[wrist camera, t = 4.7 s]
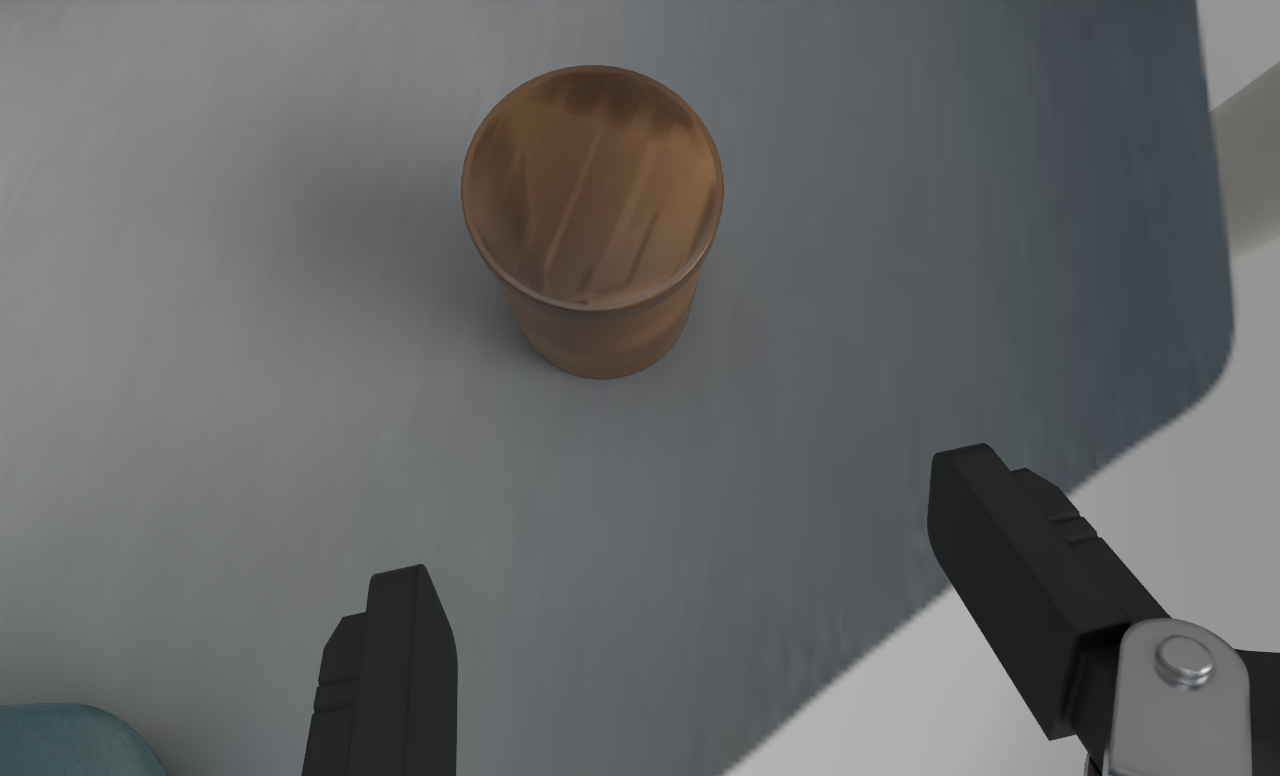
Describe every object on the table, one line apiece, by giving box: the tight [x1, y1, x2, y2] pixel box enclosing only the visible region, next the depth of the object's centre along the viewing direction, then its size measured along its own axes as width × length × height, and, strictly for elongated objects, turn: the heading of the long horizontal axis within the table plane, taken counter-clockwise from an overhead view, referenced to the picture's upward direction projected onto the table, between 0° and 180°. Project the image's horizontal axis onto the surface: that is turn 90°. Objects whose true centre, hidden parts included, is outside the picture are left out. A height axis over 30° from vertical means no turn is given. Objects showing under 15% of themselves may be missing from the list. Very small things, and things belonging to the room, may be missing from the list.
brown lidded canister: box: [461, 65, 724, 379], centre depth 22 cm, size 6×6×8 cm
